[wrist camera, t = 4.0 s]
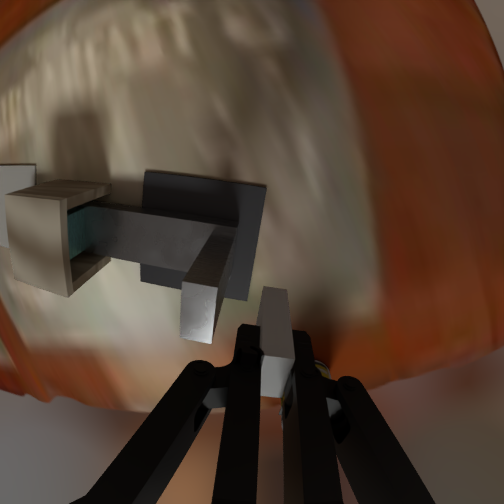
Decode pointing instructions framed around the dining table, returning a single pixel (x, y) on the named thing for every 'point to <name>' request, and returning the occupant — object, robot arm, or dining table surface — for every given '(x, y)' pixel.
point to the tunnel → (50, 235)
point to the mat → (9, 181)
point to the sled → (164, 252)
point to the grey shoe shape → (210, 205)
